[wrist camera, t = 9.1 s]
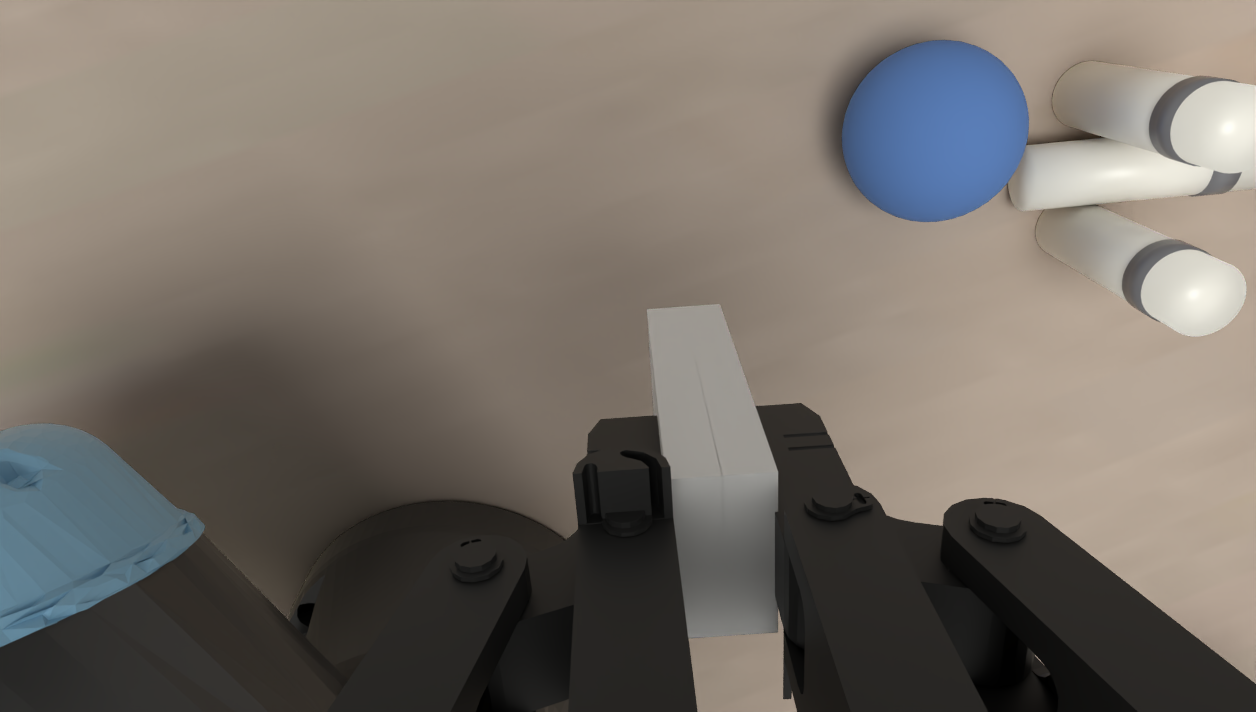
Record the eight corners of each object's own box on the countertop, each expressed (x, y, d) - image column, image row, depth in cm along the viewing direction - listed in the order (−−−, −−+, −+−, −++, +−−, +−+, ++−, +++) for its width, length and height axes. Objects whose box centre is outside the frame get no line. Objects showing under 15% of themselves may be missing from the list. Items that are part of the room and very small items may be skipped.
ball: (981, 188, 25) (815, 231, 29) (1070, 207, 29) (910, 242, 33) (960, -12, 25) (799, 61, 30) (1050, 33, 29) (895, 92, 34)
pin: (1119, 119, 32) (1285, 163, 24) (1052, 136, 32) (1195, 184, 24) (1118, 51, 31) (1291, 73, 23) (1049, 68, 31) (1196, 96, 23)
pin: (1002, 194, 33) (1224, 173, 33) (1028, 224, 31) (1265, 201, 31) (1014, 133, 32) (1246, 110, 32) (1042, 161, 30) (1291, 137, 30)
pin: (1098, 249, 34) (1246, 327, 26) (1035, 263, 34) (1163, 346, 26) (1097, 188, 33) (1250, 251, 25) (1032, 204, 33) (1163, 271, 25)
